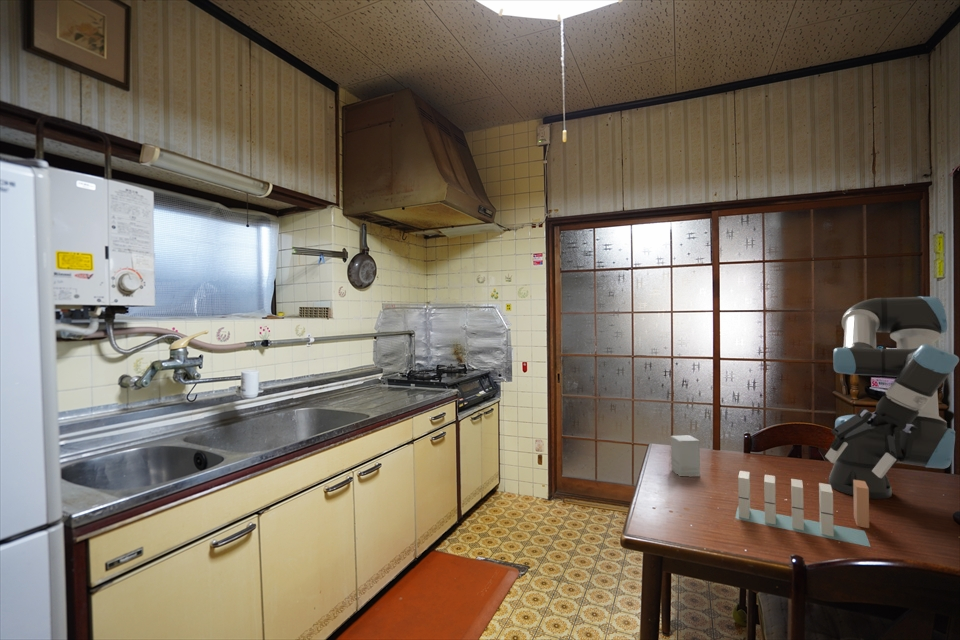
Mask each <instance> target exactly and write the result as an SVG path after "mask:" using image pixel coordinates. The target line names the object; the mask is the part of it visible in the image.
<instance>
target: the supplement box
mask: <svg viewBox="0 0 960 640" xmlns="http://www.w3.org/2000/svg"><path fill="white" fill-rule="evenodd" d="M700 452H701V450H700V440H699V439H697V438H696V437H693V436H692V435H690V434H689V435H686V434H685V435H683V434H682V435H670V461H671V462H670V464H671V467H670V469H671V471H672V470H673V471H672V472H674V473H675V474H676V475H677V474H678V475H677V476H679V477H680V476H689V477H700V476H701V456H700Z"/></svg>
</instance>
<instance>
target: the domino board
mask: <svg viewBox="0 0 960 640" xmlns="http://www.w3.org/2000/svg"><path fill="white" fill-rule="evenodd" d="M736 508H737V509H736V512H735V517H734V519H735V520H740V521H745V522H749V523H755V524H759V525H764V526H769V527H772V528H779V529H783V530H788V531H791V532H797V533H802V534H807V535H811V536H815V537H821V538H826V539H830V540H836V541H840V542H844V543H850V544H855V545H858V546H864V547H867V548H868V547H870V548H871V547H872V546H871V545H870V541H869V539H868V536H867V534H866V530H861V529H857V528H851V527H847V526H841V525H836V524H833V532H834V537H833V536H828V535H823V534H821V529H820V521H815V520H810V519H805V518H804V530H799V529H794V528H792V516H789V515H785V514H779V513H776V525H775V524H770V523H765V510H759V509H753V508H750V516H749V519H746V518H741V517H739V505H738V506H737V507H736Z"/></svg>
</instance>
